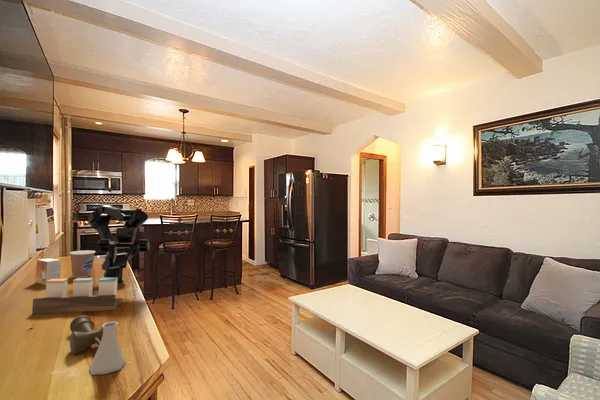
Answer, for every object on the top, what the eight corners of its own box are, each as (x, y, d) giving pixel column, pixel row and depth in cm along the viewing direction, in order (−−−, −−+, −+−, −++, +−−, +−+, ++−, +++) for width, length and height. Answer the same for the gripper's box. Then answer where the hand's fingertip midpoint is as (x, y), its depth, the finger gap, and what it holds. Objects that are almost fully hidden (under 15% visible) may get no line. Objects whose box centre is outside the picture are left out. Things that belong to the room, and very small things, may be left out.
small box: (34, 283, 129) (36, 259, 129) (49, 280, 134) (51, 257, 134) (45, 285, 126) (46, 261, 126) (60, 282, 131) (61, 259, 131)
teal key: (100, 299, 107) (102, 277, 107) (116, 298, 109) (117, 277, 109) (97, 301, 104) (98, 279, 104) (113, 301, 105) (115, 279, 106)
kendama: (99, 328, 88) (122, 349, 75) (59, 339, 81) (77, 365, 68) (99, 308, 88) (122, 326, 76) (59, 318, 81) (77, 339, 68)
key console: (46, 305, 104) (47, 291, 104) (121, 301, 110) (122, 288, 110) (32, 314, 95) (33, 298, 95) (114, 309, 102) (114, 295, 102)
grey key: (75, 300, 105) (77, 278, 105) (92, 299, 106) (93, 277, 106) (71, 303, 102) (73, 280, 102) (88, 302, 103) (89, 280, 103)
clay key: (49, 301, 103) (51, 278, 103) (66, 300, 104) (68, 278, 104) (44, 304, 100) (45, 281, 100) (62, 303, 101) (63, 280, 101)
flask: (85, 379, 63) (88, 333, 63) (91, 362, 69) (94, 320, 69) (124, 371, 66) (126, 327, 66) (126, 356, 72) (129, 316, 73)
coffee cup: (83, 279, 139) (85, 254, 139) (62, 278, 139) (64, 253, 139) (98, 274, 149) (100, 250, 149) (79, 273, 149) (80, 250, 149)
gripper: (100, 220, 120) (87, 250, 110) (149, 221, 126) (141, 250, 115) (106, 236, 128) (94, 266, 117) (152, 237, 133) (145, 266, 122)
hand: (119, 262), depth 118 cm, fingers open, 4 cm apart
